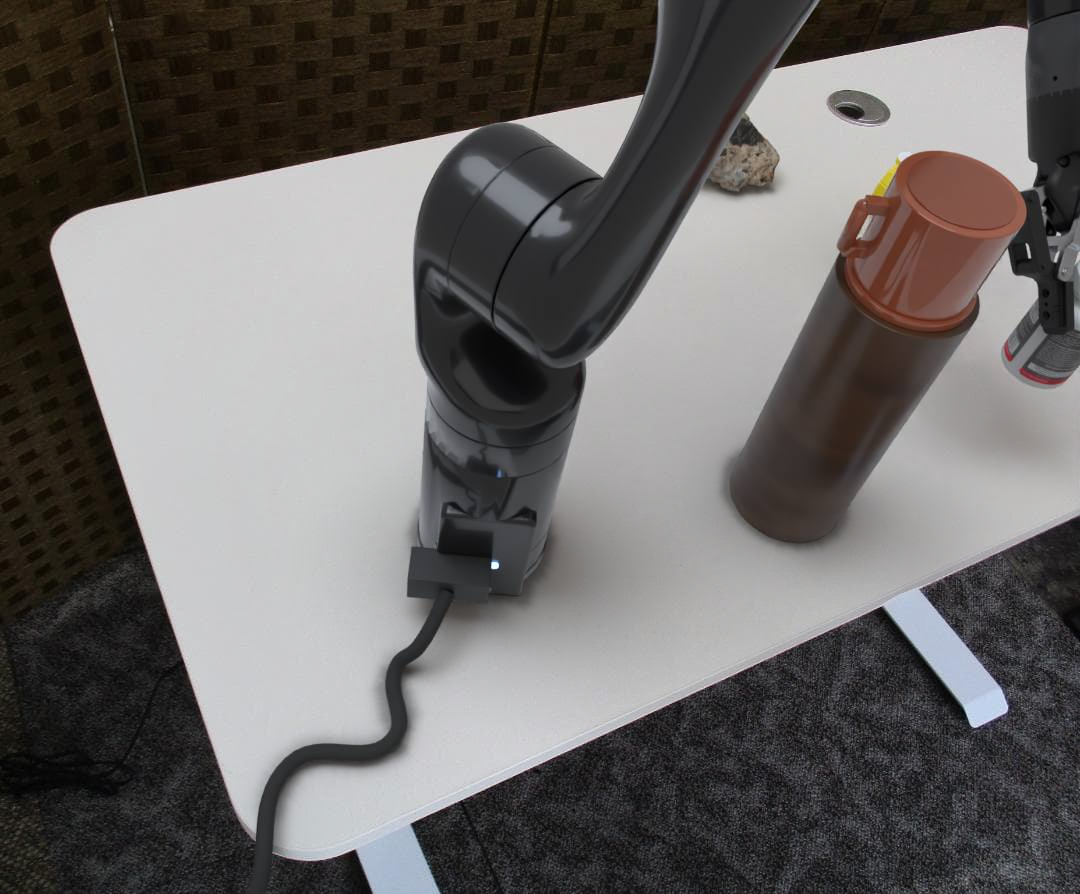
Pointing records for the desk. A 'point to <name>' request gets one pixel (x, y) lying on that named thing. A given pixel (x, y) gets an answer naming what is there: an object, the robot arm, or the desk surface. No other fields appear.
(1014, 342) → the pill bottle
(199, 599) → the desk surface
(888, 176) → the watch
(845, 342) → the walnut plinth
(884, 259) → the upturned cup
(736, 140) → the rock
